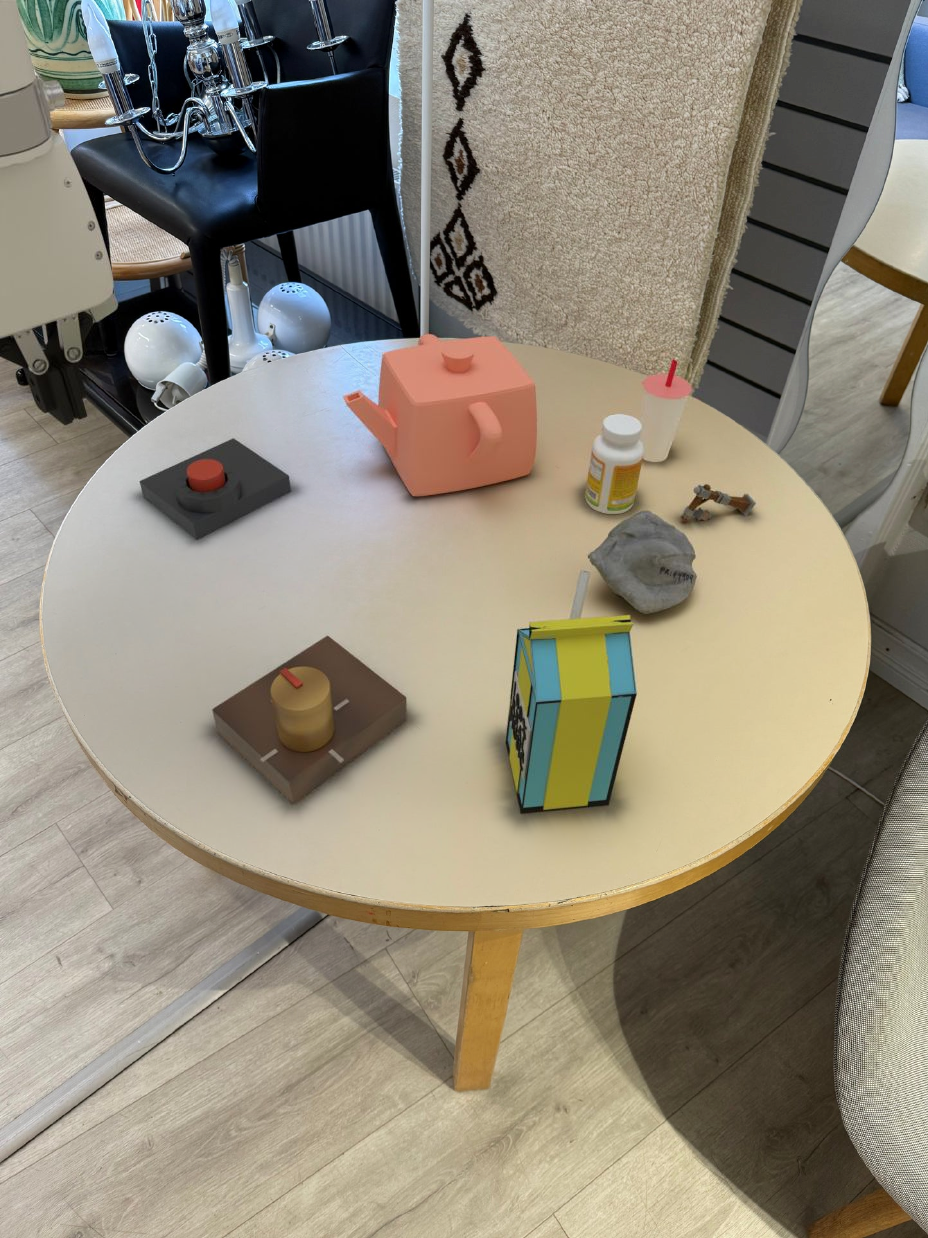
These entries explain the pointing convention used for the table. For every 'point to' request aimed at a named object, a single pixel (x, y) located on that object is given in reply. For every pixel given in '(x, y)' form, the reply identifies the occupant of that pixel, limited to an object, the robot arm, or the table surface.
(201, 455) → the button block
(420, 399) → the teapot
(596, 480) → the supplement bottle
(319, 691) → the knob
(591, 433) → the table surface
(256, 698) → the panel
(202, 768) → the table surface
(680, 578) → the fossil
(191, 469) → the button
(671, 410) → the cup
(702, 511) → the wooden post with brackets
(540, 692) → the carton
